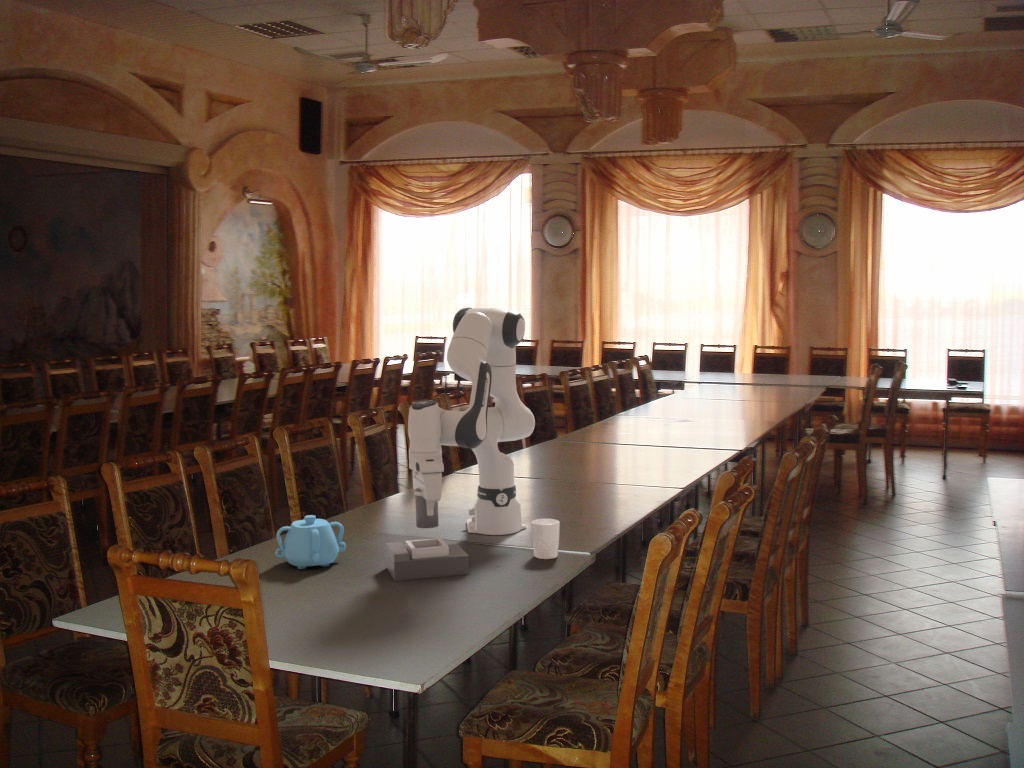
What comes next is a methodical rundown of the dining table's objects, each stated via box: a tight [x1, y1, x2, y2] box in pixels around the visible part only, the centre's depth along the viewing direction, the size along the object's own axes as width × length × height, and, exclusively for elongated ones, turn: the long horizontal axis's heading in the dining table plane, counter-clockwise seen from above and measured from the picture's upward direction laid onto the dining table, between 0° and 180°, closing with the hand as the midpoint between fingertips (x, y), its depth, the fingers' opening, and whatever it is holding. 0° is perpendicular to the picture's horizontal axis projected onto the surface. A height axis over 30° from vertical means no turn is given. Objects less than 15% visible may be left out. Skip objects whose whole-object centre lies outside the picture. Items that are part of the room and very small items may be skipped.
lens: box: [414, 488, 439, 529], centre depth 273 cm, size 6×6×10 cm
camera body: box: [385, 537, 470, 582], centre depth 275 cm, size 13×20×8 cm, turn 106°
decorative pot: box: [274, 514, 347, 570], centre depth 283 cm, size 16×16×14 cm
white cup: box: [531, 518, 561, 560], centre depth 288 cm, size 8×8×10 cm
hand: (427, 512), depth 273 cm, fingers closed on lens, 6 cm apart
